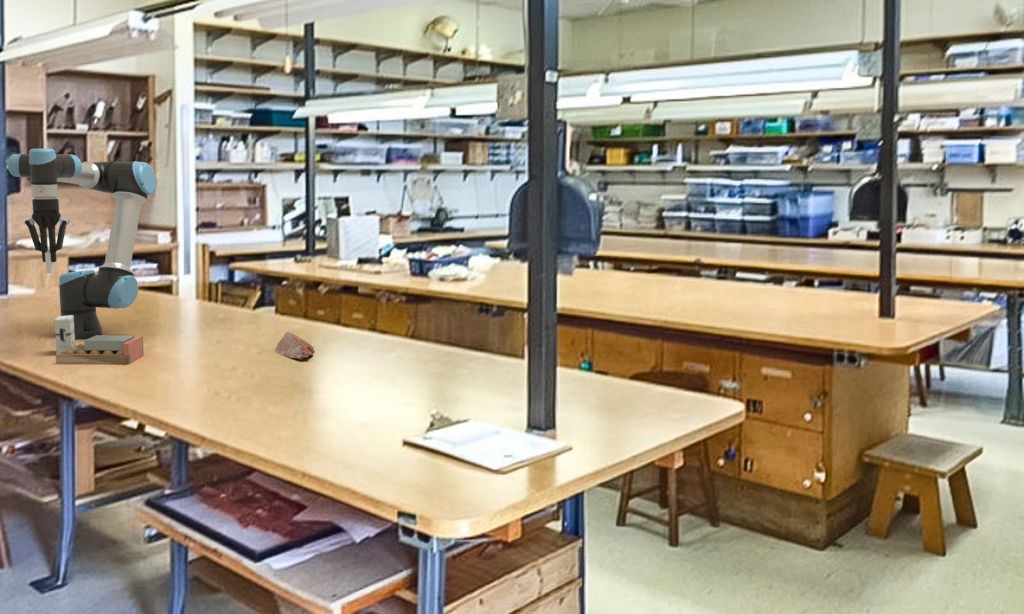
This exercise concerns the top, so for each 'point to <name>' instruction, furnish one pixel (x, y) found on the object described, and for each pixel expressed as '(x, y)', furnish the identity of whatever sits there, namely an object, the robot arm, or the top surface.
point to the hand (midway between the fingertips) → (50, 272)
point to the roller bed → (92, 356)
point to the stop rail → (133, 348)
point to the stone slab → (106, 342)
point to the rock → (294, 347)
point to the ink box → (64, 333)
